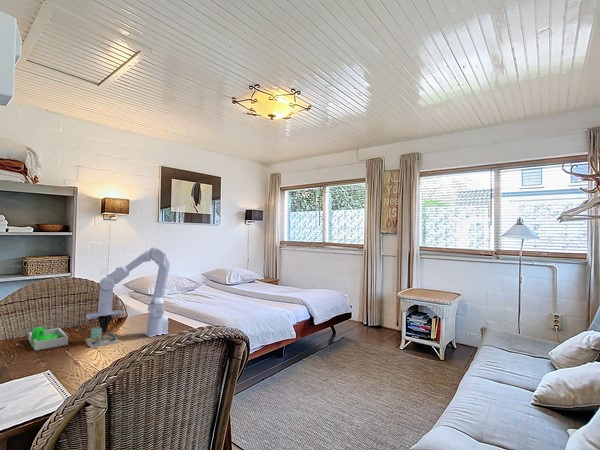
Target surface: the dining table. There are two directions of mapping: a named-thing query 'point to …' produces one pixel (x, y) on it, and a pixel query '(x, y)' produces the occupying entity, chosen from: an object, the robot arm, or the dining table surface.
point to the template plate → (102, 342)
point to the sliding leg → (96, 333)
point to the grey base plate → (102, 337)
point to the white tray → (50, 340)
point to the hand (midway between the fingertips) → (103, 331)
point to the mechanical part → (42, 335)
